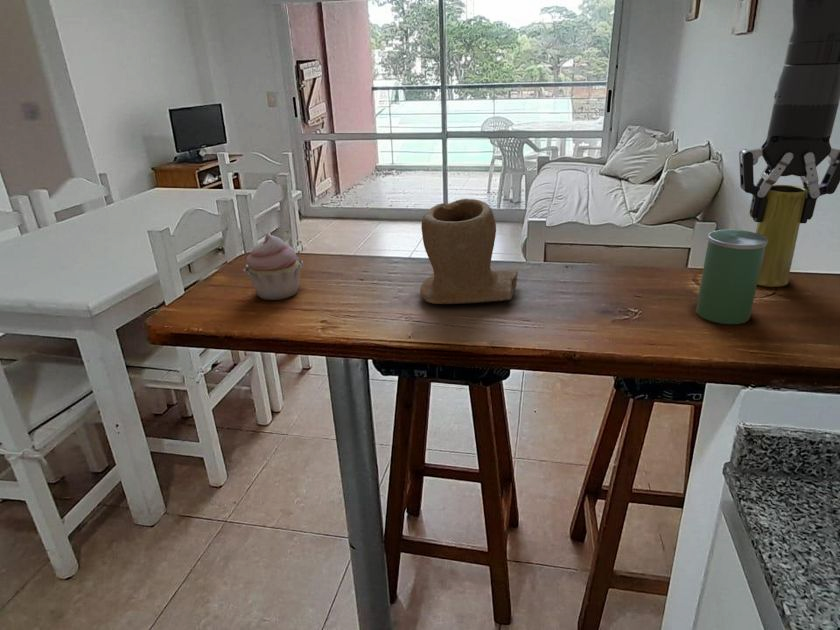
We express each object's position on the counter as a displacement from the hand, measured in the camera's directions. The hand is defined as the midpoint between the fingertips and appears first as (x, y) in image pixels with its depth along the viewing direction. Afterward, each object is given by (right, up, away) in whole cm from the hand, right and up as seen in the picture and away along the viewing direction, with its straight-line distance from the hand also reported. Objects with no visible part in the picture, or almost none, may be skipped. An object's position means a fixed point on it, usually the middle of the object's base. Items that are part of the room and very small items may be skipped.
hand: (779, 221), depth 85 cm
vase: (0, -9, +4) cm, 10 cm away
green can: (-12, -14, -6) cm, 19 cm away
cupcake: (-76, -11, +8) cm, 77 cm away
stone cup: (-46, -12, +2) cm, 47 cm away
